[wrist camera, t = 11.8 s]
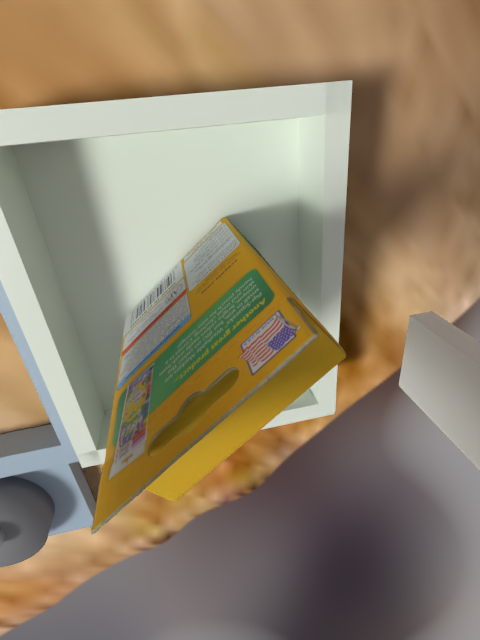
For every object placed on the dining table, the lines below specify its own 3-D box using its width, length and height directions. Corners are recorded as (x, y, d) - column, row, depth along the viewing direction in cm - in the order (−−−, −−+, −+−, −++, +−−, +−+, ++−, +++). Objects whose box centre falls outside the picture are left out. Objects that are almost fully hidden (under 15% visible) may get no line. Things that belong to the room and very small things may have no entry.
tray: (-16, 120, 14) (-72, 115, 11) (311, 92, 16) (352, 79, 13) (94, 415, 22) (82, 468, 19) (309, 373, 24) (335, 413, 20)
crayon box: (167, 348, 20) (175, 570, 10) (123, 316, 18) (79, 535, 8) (263, 256, 18) (390, 402, 8) (224, 214, 17) (317, 327, 7)
